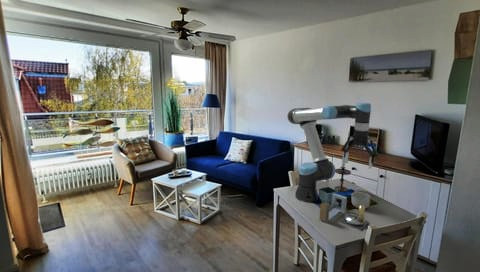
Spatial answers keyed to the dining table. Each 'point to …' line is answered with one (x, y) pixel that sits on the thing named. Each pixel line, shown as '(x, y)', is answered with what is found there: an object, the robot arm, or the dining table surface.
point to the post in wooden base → (326, 210)
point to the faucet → (356, 217)
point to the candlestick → (342, 172)
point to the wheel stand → (354, 225)
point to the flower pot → (326, 194)
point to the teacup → (360, 199)
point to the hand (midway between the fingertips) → (357, 165)
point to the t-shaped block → (337, 209)
